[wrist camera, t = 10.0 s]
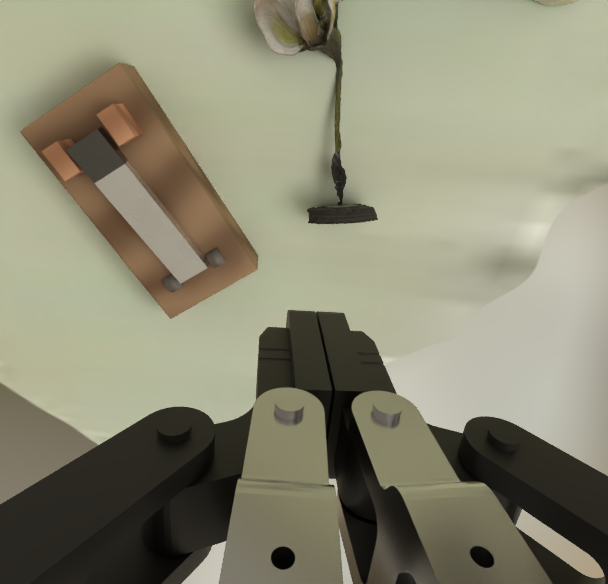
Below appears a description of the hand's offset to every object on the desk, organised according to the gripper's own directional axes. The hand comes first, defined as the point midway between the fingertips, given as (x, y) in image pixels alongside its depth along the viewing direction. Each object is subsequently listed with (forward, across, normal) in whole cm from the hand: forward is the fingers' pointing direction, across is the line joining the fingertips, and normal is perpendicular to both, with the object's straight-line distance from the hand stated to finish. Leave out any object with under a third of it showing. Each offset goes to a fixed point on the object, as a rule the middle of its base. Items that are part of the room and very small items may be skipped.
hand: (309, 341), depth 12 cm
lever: (+28, +11, +4) cm, 30 cm away
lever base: (+33, +12, +4) cm, 35 cm away
